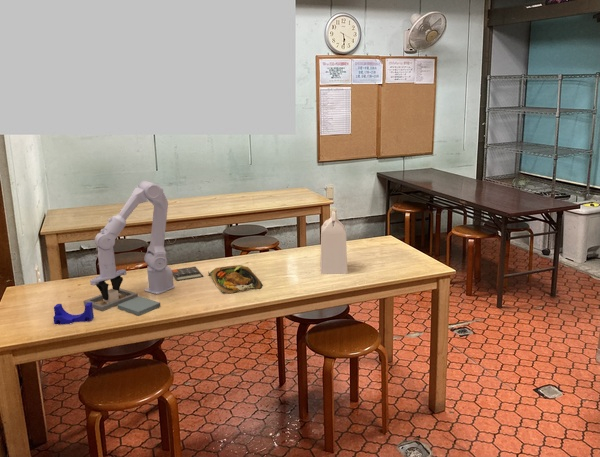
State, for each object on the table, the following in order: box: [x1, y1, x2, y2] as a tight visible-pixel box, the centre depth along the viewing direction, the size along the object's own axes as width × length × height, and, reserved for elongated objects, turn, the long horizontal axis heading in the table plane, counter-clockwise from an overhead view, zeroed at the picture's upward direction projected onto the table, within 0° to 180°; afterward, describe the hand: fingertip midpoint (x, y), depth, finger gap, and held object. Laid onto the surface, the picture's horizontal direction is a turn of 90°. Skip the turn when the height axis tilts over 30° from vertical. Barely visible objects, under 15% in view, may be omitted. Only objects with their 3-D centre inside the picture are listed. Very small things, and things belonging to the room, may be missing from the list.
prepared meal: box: [208, 264, 264, 295], centre depth 220 cm, size 28×4×18 cm
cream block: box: [102, 288, 120, 304], centre depth 200 cm, size 4×4×4 cm
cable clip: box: [52, 302, 95, 325], centre depth 182 cm, size 12×4×6 cm, turn 94°
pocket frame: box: [83, 287, 139, 312], centre depth 200 cm, size 16×12×2 cm
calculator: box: [171, 266, 204, 282], centre depth 229 cm, size 12×1×15 cm
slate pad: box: [116, 295, 161, 317], centre depth 193 cm, size 10×12×2 cm
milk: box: [320, 210, 348, 275], centre depth 228 cm, size 12×12×26 cm
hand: (111, 297), depth 200 cm, fingers closed on cream block, 4 cm apart
